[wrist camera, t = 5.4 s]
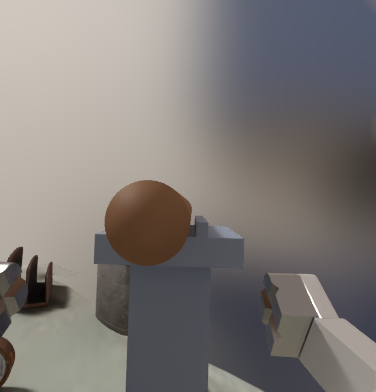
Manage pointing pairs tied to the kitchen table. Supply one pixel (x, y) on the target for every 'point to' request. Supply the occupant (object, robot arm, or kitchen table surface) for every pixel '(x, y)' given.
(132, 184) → the dowel
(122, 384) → the kitchen table surface
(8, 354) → the tin
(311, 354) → the robot arm
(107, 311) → the flask
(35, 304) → the letter holder
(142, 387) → the shelf post
